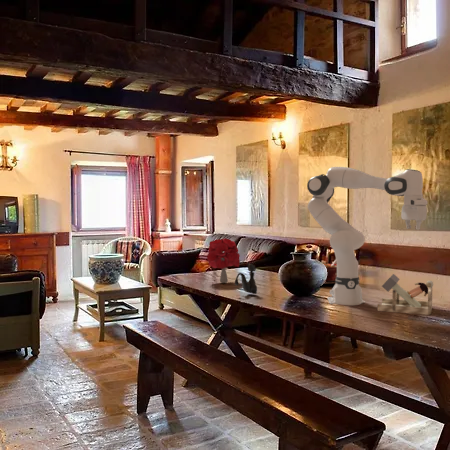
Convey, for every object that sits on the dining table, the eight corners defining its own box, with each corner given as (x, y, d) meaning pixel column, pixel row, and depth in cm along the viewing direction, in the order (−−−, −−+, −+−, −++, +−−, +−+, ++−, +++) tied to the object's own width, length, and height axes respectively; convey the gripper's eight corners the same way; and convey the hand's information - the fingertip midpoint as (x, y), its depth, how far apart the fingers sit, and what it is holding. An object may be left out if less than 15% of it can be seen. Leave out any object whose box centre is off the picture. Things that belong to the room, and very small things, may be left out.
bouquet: (200, 281, 334) (200, 238, 333) (227, 278, 349) (226, 236, 348) (220, 285, 318) (220, 239, 317) (247, 281, 333) (247, 237, 332)
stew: (327, 279, 342) (327, 256, 342) (356, 283, 324) (356, 259, 323) (300, 283, 325) (300, 259, 324) (329, 288, 306) (329, 262, 305)
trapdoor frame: (377, 310, 238) (377, 288, 237) (382, 304, 254) (382, 283, 253) (430, 315, 228) (430, 291, 227) (432, 307, 243) (432, 285, 243)
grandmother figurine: (405, 291, 240) (428, 277, 235) (405, 288, 243) (427, 274, 239) (415, 303, 240) (438, 289, 236) (414, 300, 244) (437, 286, 239)
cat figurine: (231, 293, 288) (230, 263, 287) (250, 291, 295) (250, 261, 295) (240, 296, 280) (240, 264, 279) (260, 293, 287) (259, 263, 286)
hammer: (381, 286, 238) (390, 277, 236) (385, 282, 251) (393, 273, 249) (414, 315, 232) (423, 306, 230) (416, 309, 245) (424, 301, 243)
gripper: (398, 201, 255) (398, 228, 256) (416, 201, 235) (416, 230, 235) (409, 201, 256) (409, 228, 256) (429, 201, 236) (429, 230, 236)
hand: (413, 229), depth 246 cm, fingers open, 8 cm apart
